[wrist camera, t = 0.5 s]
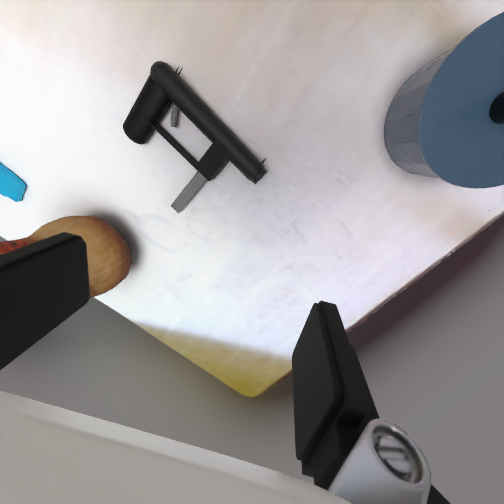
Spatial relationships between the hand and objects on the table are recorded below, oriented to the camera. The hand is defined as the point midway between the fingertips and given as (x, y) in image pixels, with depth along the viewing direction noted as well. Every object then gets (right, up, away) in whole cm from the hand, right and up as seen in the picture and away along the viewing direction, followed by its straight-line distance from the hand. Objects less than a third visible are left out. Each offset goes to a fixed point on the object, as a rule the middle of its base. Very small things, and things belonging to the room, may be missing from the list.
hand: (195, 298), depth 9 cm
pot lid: (+26, +15, +12) cm, 32 cm away
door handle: (-7, +17, +27) cm, 33 cm away
